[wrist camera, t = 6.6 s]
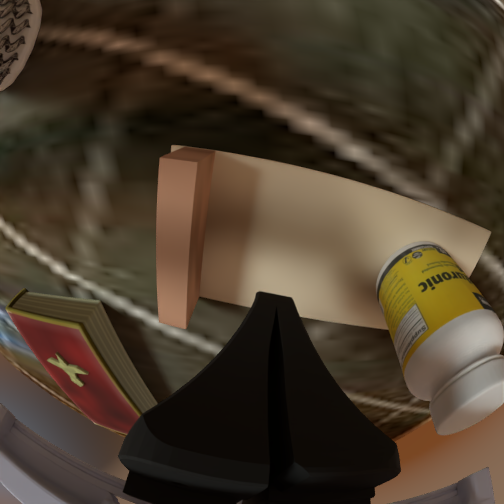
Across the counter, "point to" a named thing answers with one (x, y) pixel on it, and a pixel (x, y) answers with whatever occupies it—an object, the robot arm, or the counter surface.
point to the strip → (286, 236)
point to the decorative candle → (17, 36)
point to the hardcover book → (83, 356)
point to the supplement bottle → (442, 335)
